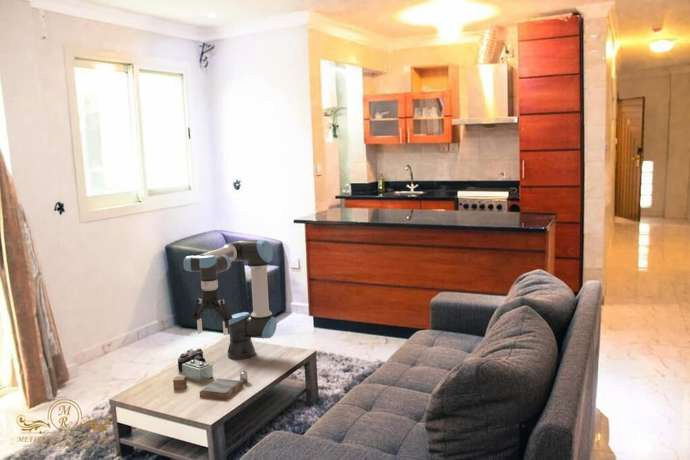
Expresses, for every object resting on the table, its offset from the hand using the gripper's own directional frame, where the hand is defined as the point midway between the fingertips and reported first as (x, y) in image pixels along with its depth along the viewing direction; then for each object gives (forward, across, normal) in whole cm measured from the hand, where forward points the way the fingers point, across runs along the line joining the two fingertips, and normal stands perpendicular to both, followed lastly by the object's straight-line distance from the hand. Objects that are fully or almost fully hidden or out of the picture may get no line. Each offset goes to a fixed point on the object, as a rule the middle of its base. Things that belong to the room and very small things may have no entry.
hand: (212, 333), depth 267 cm
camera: (+30, -30, +27) cm, 50 cm away
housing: (+30, -21, +17) cm, 40 cm away
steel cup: (+29, +6, +16) cm, 34 cm away
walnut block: (+30, -22, +3) cm, 37 cm away
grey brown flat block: (+29, +1, +3) cm, 30 cm away
